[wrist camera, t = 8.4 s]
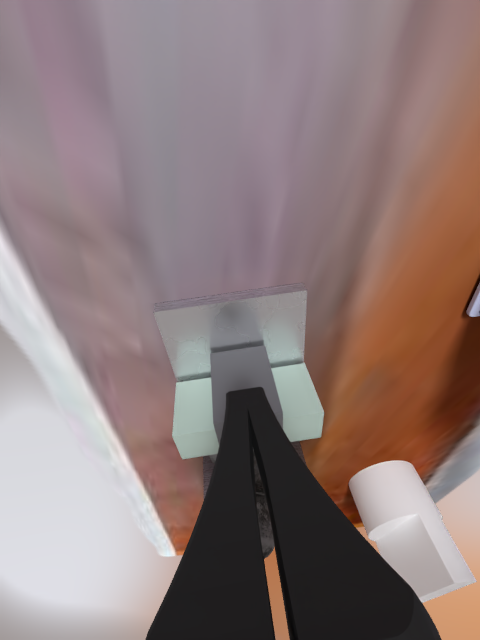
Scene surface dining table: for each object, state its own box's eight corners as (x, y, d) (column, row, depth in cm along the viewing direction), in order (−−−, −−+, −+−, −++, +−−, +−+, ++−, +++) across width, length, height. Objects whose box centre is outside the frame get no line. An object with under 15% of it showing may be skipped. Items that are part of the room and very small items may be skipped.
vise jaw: (305, 339, 22) (334, 404, 17) (303, 387, 25) (326, 453, 20) (168, 359, 21) (160, 431, 17) (184, 406, 25) (181, 476, 20)
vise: (302, 282, 20) (333, 338, 16) (296, 447, 33) (312, 504, 29) (155, 303, 20) (142, 367, 15) (207, 462, 33) (209, 521, 28)
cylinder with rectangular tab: (372, 458, 37) (432, 584, 28) (427, 462, 40) (500, 579, 30) (336, 491, 42) (377, 608, 32) (387, 493, 44) (439, 601, 35)
